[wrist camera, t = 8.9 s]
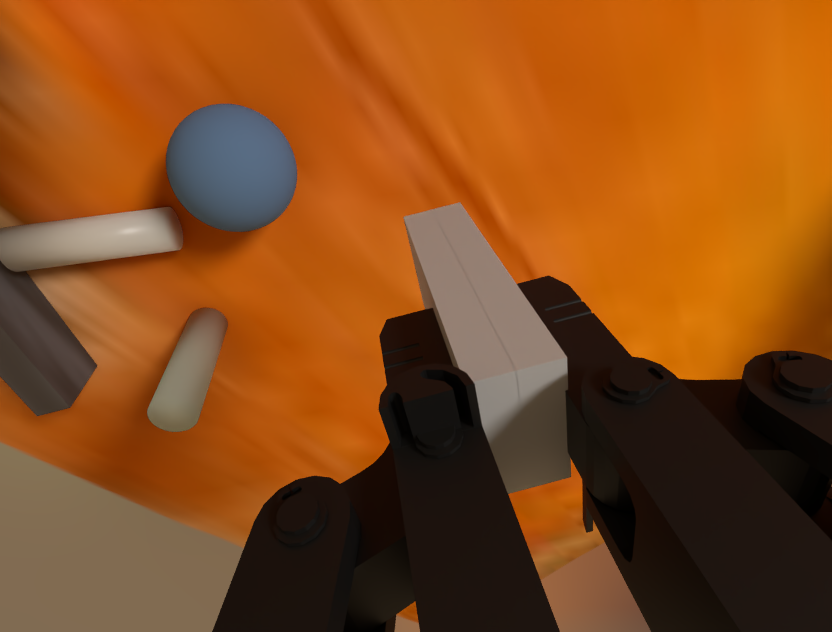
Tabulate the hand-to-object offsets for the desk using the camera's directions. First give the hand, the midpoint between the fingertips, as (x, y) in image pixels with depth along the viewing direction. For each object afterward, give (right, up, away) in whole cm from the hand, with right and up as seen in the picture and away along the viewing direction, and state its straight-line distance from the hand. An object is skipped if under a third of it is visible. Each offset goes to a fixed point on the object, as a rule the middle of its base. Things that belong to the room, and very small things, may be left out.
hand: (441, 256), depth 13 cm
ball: (-10, +6, +11) cm, 15 cm away
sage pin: (-14, -2, +18) cm, 23 cm away
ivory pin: (-14, +3, +14) cm, 20 cm away
